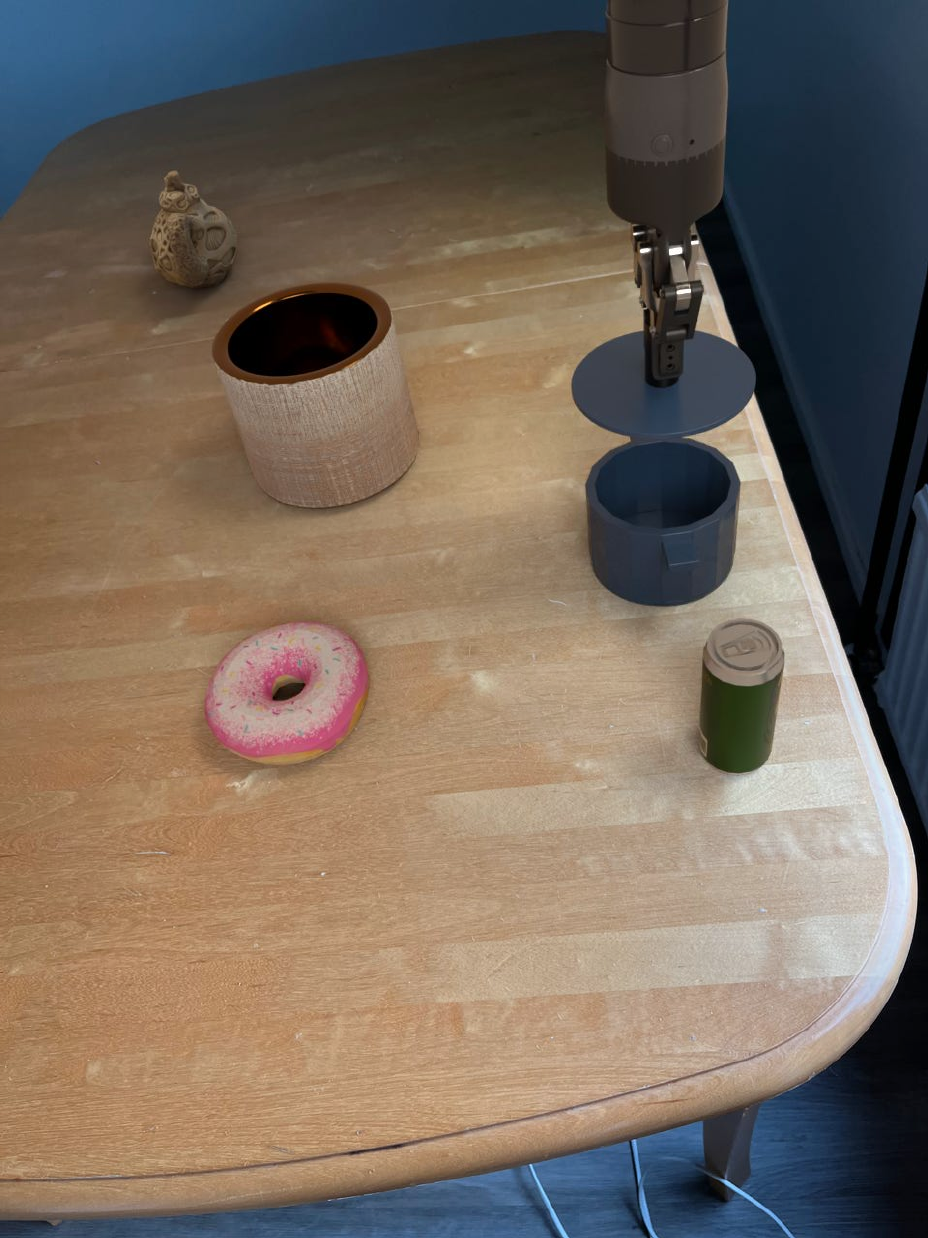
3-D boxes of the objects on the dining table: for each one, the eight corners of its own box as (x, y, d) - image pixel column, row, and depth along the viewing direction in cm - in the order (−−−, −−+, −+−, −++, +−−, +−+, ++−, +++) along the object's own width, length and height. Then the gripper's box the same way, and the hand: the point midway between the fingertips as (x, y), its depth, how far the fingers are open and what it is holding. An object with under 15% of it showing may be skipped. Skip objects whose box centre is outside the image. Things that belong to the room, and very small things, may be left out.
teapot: (162, 257, 145) (122, 150, 134) (241, 237, 146) (208, 130, 135) (167, 333, 131) (122, 220, 120) (255, 311, 131) (219, 197, 120)
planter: (424, 401, 113) (399, 270, 101) (416, 507, 101) (386, 373, 89) (269, 416, 115) (227, 290, 103) (242, 523, 103) (192, 393, 91)
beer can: (715, 788, 75) (724, 686, 66) (686, 732, 79) (690, 628, 70) (784, 766, 75) (801, 662, 67) (751, 712, 79) (763, 606, 70)
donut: (209, 788, 81) (188, 752, 78) (223, 661, 90) (205, 623, 87) (376, 763, 81) (363, 726, 77) (372, 638, 90) (361, 599, 86)
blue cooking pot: (708, 481, 98) (712, 408, 92) (757, 618, 85) (765, 544, 79) (577, 500, 98) (572, 429, 92) (607, 639, 86) (604, 567, 80)
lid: (729, 328, 83) (734, 258, 79) (776, 430, 74) (784, 357, 69) (561, 354, 84) (556, 286, 79) (585, 458, 74) (581, 388, 70)
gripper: (753, 167, 59) (735, 411, 72) (699, 79, 69) (692, 308, 82) (624, 188, 60) (629, 426, 72) (589, 97, 69) (598, 322, 82)
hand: (662, 362), depth 77 cm, fingers closed on lid, 2 cm apart
